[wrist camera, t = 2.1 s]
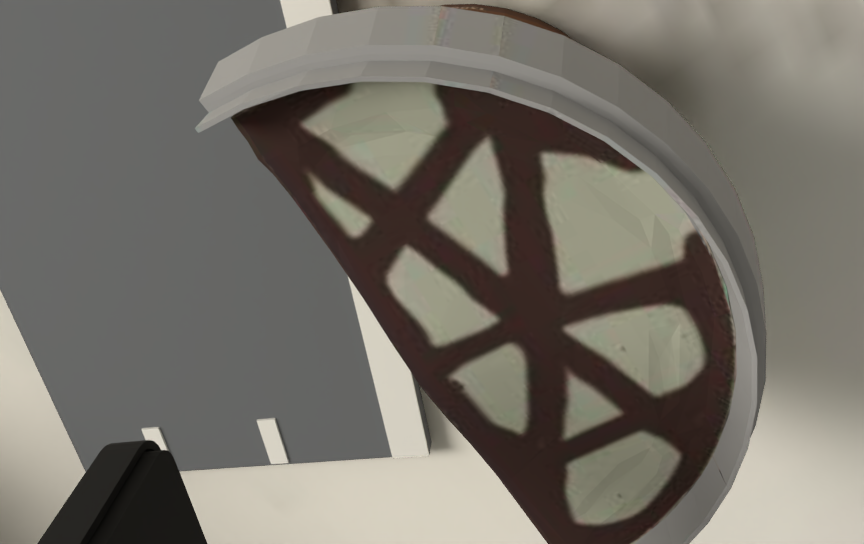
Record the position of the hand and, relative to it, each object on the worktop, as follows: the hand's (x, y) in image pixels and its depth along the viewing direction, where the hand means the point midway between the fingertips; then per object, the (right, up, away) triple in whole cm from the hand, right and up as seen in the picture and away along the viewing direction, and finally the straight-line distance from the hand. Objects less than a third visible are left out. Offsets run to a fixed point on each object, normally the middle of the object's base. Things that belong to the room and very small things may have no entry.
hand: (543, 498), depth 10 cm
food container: (+2, +7, +11) cm, 13 cm away
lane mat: (-9, +5, +14) cm, 17 cm away
